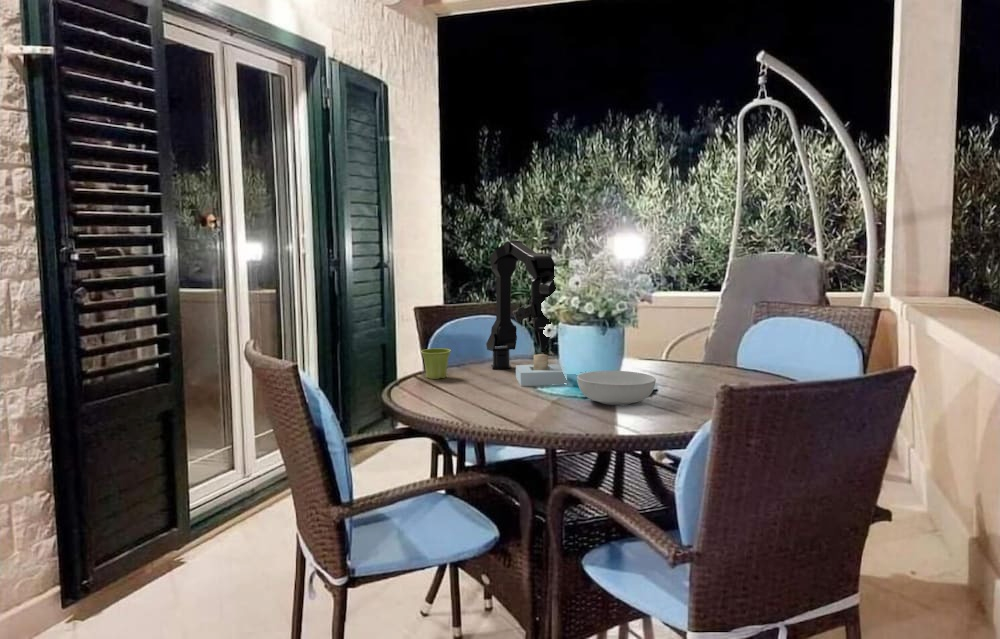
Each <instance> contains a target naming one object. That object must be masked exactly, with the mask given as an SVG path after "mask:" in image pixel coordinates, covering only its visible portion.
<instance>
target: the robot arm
mask: <svg viewBox="0 0 1000 639" xmlns="http://www.w3.org/2000/svg"><path fill="white" fill-rule="evenodd" d="M489 259H490V260H489V262H490V264H491V266H490V267H491V270H492V272H493V274H494V275H495V279H496V280H495V281H496V282H495V284H496V286H495V287H496V288H495V290H496V291H495V292H496V294H495V297H496V298H495V299H496V300H495V301H496V303H495V304H496V305H495V308H496V311H495V313H496V317H495V318H496V319H495V321H494V322H493V325H492V326H491V331H490V332H491V333H490V335H489V336H488V340H487V341H486V344H485V345H486V350H488V351H491V352H492V364H490V368H491V369H492V370H505V369H510V370H511V369H512V366H511V363H510V356H511V355H510V351H511V350H516V347H517V339H518V336H517V326H516V325H515V324H514V323H513V321H512V315H513V316H514V319H515V321H516V323H518V322H521V321H523V320H525V319H527V323H528V325H529V326H531V328H532V329H533V332H534V337H535V342H536V346H538V347H540V350H541V351H545V350H546V349H547V346H548V343H549V341H550V339H551V336H550V337H546V336H545V335H544V334H543V330H545V329H544V327H545V326H546V324H551V321H550V322H549V319H547V318H546V317H545V316H544V315H543V313H542V311H541V303H542V302H543V301H544V300H545V297H548V296H550V295H551V294H552V293H553V292H554V291H555V289H556V287H555V285H554V280H553V279H554V277H555V276H554V266H556V264H555V262H554V260H553V257H552V256H551V255H549V254H547V253H545V254H544V253H540V252H539V253H538V252H536V251H534V250H533V249H531V248H530V247H528V246H526V245H525V244H523V242H522V241H521V240H507V241H505V243H504V244H502V245H500V246H498V247H497V248H495V249H494V250H493V252H491V254H490V257H489ZM519 261H520V262H522V264H525V270H526V271H527V272H528V273H529V274H530V275H531V276H530V277H529V278H528V282H530V295H531V296H530V297H531V298H530V300H529V304H527V305H524V306H523V305H522V306H521V307H517V309H515V310H513V311H512V290H511V289H512V276H513V275H514V272H515V271H516V270H517V262H519ZM511 312H512V313H511Z"/></svg>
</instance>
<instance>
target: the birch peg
mask: <svg viewBox="0 0 1000 639" xmlns="http://www.w3.org/2000/svg"><path fill="white" fill-rule="evenodd" d="M548 364H549V355H548V354H540V353H539V354H534V355H533V365H534V370H548Z"/></svg>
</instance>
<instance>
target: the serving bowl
mask: <svg viewBox="0 0 1000 639" xmlns="http://www.w3.org/2000/svg"><path fill="white" fill-rule="evenodd" d="M576 381H577V385H578V386H577V387H578V388H579V390H580V392H581V393H582V394H583V395H584V396H585V397H586V398H588V399H590V400H591V401H595V402H597V403H601V404H603V405H609V406H627V405H631V404H634V403H638V402H642V401H644V400H646V398H648V397H650V396H651V394H652V393H653V391H654V389H655V386H656V382H657V381H656V378H655V376H653V375H650V374H648V373H647V374H646V373H642V372H636V371H629V370H595V371H588V372H586V371H585V372H581V373H578V375H577V376H576Z"/></svg>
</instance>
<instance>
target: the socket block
mask: <svg viewBox="0 0 1000 639" xmlns="http://www.w3.org/2000/svg"><path fill="white" fill-rule="evenodd" d="M560 365H561V364H560V363H553V364H551V363H550V364H549V363H548V370H534V364H516V365H515V378H516V380H517V382H518V384H519V385H520V387H534V386H535V387H537V386H539V387H540V385H544V386H553V385H552V384H564V383H567V384H568V379H567V380H566V378H565V376H564V374H563V372H562V369H561V367H560Z"/></svg>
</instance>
